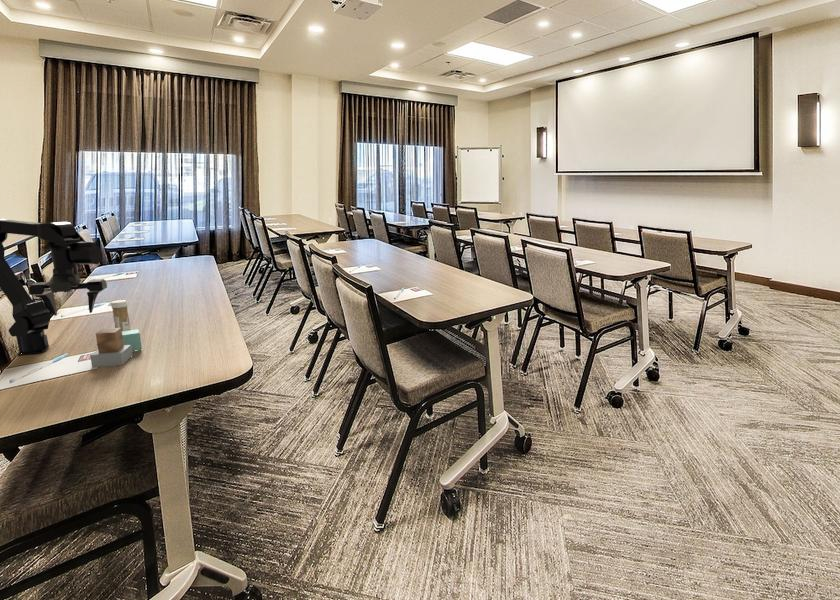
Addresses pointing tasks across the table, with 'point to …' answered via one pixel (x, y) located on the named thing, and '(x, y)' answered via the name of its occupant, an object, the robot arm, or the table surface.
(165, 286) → the table surface
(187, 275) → the table surface
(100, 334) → the walnut block
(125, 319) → the sprinkles bottle
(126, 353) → the grey slab
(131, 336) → the teal block
